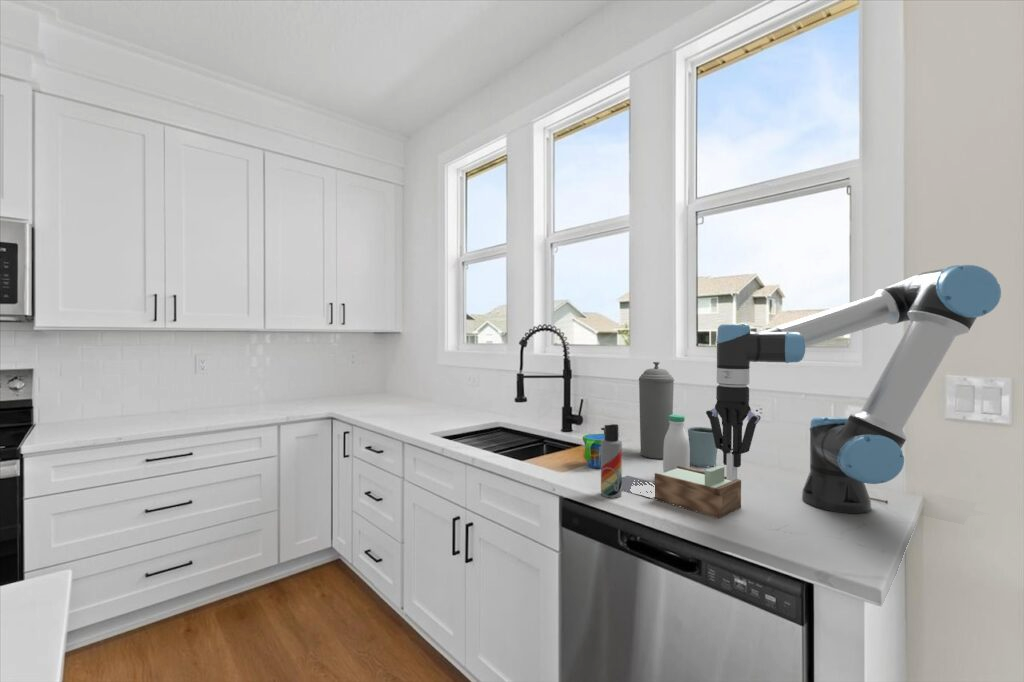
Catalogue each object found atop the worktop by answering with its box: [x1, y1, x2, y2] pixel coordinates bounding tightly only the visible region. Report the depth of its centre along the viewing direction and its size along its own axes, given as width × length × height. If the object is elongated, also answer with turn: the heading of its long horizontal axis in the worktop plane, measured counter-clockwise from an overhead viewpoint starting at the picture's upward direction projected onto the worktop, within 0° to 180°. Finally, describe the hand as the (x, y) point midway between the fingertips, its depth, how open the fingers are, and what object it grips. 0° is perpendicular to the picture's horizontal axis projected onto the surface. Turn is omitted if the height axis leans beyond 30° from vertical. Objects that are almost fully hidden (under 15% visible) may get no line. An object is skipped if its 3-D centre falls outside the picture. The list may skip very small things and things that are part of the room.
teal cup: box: [687, 426, 718, 467], centre depth 169 cm, size 10×10×12 cm
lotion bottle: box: [600, 423, 623, 499], centre depth 136 cm, size 6×6×20 cm
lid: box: [660, 465, 731, 488], centre depth 130 cm, size 16×10×5 cm, turn 40°
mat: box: [622, 475, 655, 499], centre depth 144 cm, size 17×13×1 cm
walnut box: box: [654, 466, 742, 519], centre depth 129 cm, size 18×12×7 cm, turn 40°
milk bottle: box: [662, 414, 691, 473], centre depth 150 cm, size 8×8×20 cm
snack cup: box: [582, 433, 605, 469], centre depth 166 cm, size 16×10×10 cm
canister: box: [638, 361, 675, 460], centre depth 180 cm, size 13×13×35 cm
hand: (731, 478), depth 122 cm, fingers closed
